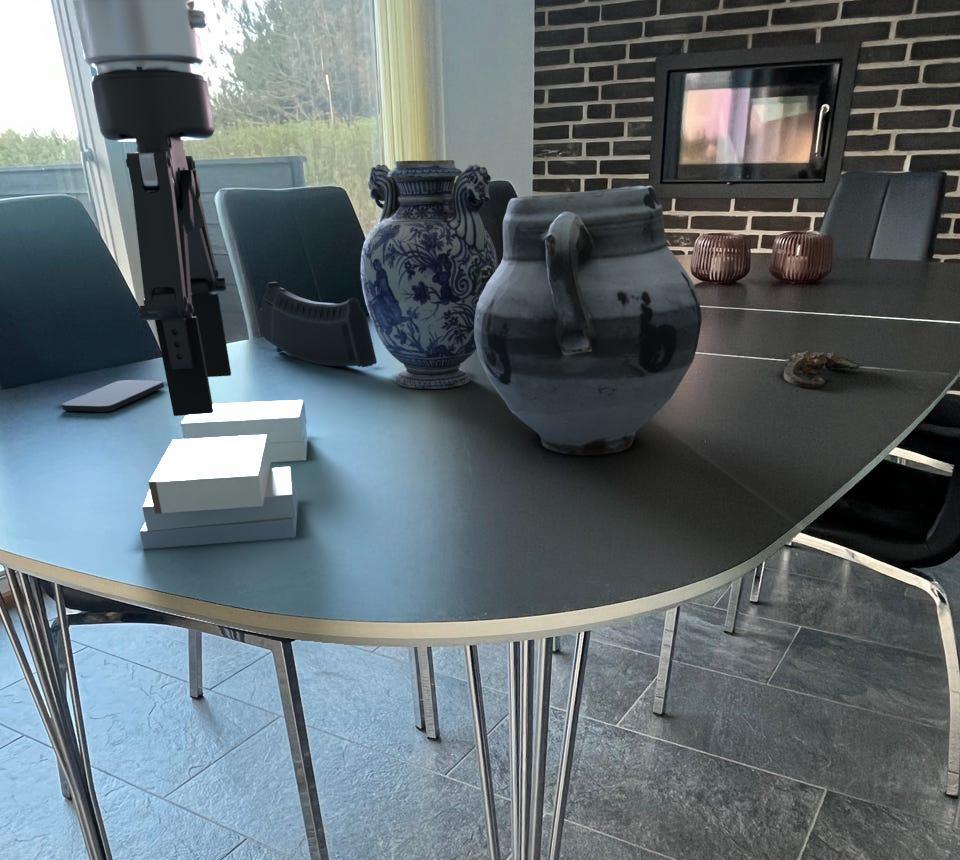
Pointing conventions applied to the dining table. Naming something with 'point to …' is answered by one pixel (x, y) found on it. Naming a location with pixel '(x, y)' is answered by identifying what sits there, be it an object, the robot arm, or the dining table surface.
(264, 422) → the white books
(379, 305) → the decorative vase
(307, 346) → the magazine
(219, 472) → the white book
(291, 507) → the white box
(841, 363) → the seahorse
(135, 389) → the phone
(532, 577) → the dining table surface
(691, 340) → the ceramic pot
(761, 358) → the dining table surface
